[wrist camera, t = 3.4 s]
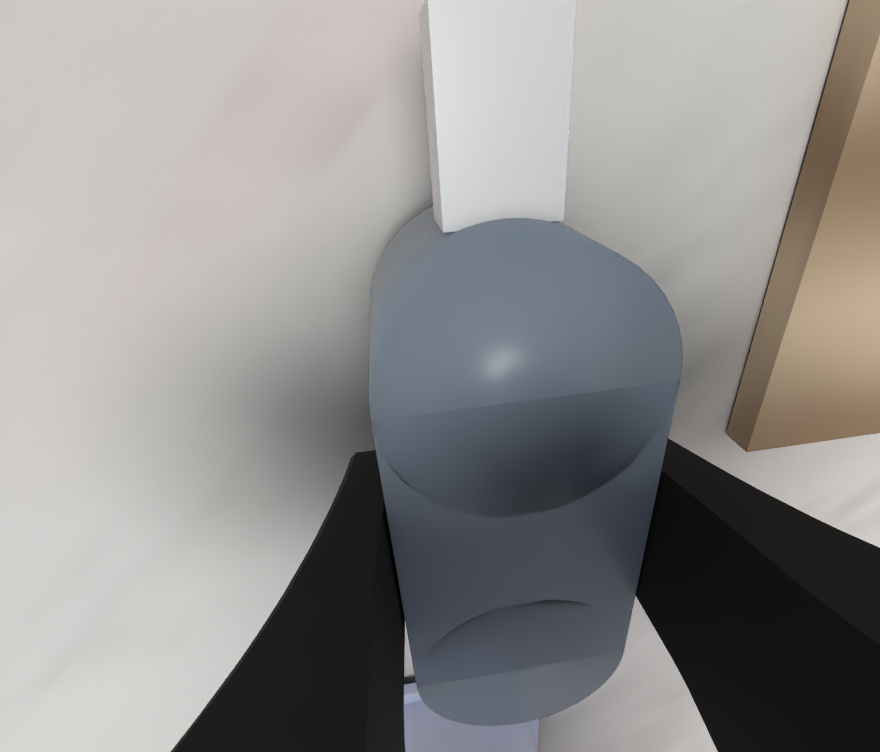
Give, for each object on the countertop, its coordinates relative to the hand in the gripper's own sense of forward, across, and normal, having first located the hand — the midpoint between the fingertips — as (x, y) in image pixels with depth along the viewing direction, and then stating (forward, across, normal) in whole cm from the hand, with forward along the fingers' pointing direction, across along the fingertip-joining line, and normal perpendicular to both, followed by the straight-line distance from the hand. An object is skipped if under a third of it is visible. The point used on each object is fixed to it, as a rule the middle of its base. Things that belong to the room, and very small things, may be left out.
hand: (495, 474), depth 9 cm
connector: (+1, 0, -1) cm, 2 cm away
